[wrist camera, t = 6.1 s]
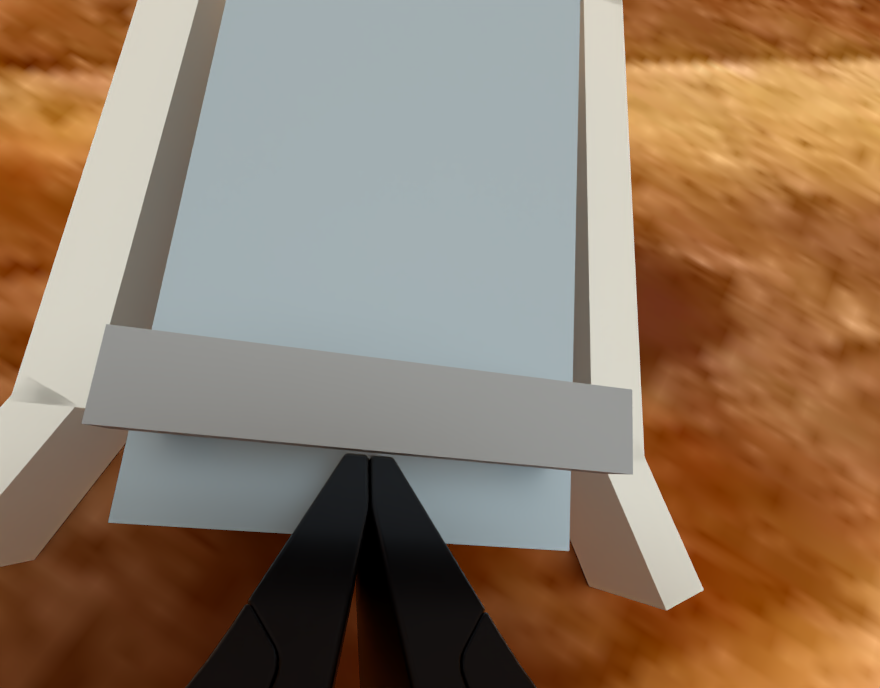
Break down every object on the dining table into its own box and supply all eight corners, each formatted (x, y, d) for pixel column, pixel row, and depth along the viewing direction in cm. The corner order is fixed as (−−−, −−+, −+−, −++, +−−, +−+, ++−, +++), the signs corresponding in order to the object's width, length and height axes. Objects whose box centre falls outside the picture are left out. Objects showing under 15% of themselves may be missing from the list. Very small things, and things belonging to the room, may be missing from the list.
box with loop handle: (471, 517, 17) (667, 584, 7) (203, 498, 15) (-3, 549, 6) (497, 110, 20) (649, -205, 11) (284, 64, 19) (242, -349, 9)
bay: (620, 587, 17) (705, 612, 13) (-13, 558, 14) (-139, 578, 10) (603, 68, 23) (657, -16, 20) (168, -38, 20) (134, -162, 16)
